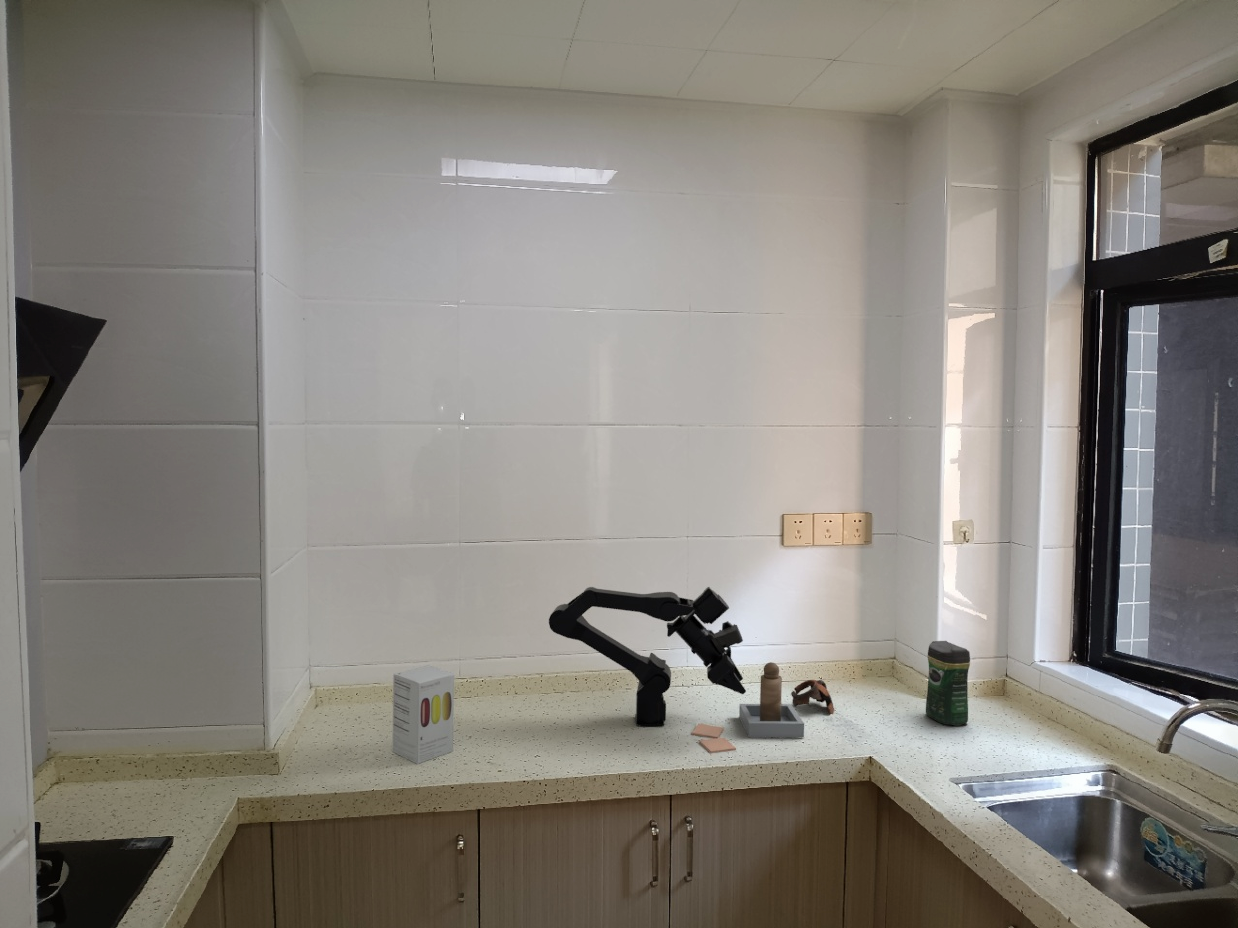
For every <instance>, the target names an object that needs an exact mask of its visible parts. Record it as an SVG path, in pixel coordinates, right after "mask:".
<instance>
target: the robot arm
mask: <svg viewBox="0 0 1238 928" xmlns="http://www.w3.org/2000/svg"><path fill="white" fill-rule="evenodd" d="M592 607H595V608H603V609H609V610H611V609H612V610H619V611H628V612H637V613H641V614H644V615H647V616H649V617H650V618H654V619H656V620H661V621H664V622H667V623H666V628H667V637H668V638H669V637H671V636H673V634H674V633H676V634H677V636H679V637H680V638H681V639H682V640H683V641H684V642H685V643H686V645H687V646H688V647H689V648H690V650H691V653H692V654H693V655H697V657H698V658H699V659H700V660H701V661H702V664H703V666H704V667H705V668H706V675H707V676H706V677H707V679H708V680H709V681H710V683H712V685H713V684H715V685H718V686H721V687H724V688H726V689H729V690H731V691H734V692H735V693H736V692H737V694H741V695H745V693H746V692H747V690H746V688H745V687H744V685H743V684H742V682H741V681H742V680H743V679H744V677H743V675H742V674H741V672H740V671H739V669H738V668H737V666H736V664H735V662H734V661H733V658H732V648H731V646H733V645H738V644H740V643H743V641H744V639H743V637H742V634H741V631H740V630H739V627H738V625H737V624H735V623H734V624H732V623H731V622H729V621H725V622H722V627H721V629H719V630H718V631H717V632H713V630H712V629H707V628H706V627H705V625H706V624H707V625H708V624H710V625H712V624H713V623H715V622H716V621H717V620H718V619H719V618H720V617H721V616H723V614H725V613H726V612H727V611H728V610H729V609H730V606H729V605H728V604H727V602H726V601H725V600H724V598H723V597H722V596H721V595H720V594H717V592H716V591H714V589H712V588H711V587H710V586H707V587H706V588H705V589H704V590H703V592H702V593H700V595H698V597H696V599H691V598H684V597H681V596H680V597H679V595H678V594H676V593H675V592H673V591H658V592H651V593H635V592H628V591H621V590H620V591H619V590H611V589H602V588H596V587H594V586H588V587H587V588H585V590H584V591H583V592H581V593H580V594H579V595H577V596H576V597H574V598H573V599H572V600H570V601H569V602H567V603H563V604H560V605H557V606H556V607H555V608H554V610H553V611H552V613H551V614H550V616H549V618H548V625H549V628H550V630H551V631H552V632H553V633H555V634H556V635H559V636H561V637H564V638H566V639H571V640H576V641H580V642H582V643H583V644H585V645H586V646H588V647H590V648H592V650H595V651H597V652H598V653H599V654H601V655H603V656H605V657H606V658H608V659H609V660H611V661H613V662H614V663H616V664H617V665H619V666H621V667H622V668H624V669H625V670H627V671H628V672H631V673H632V674H633V676H634V677H635V678H636V679H637V680H638V685H637V689H636V693H635V694H636V696H635V697H636V698H635V699H636V700H635V714H634V719H635V725H636V726H637V727H664V726H665V721H666V720H667V719H666V717H667V701H666V699H665V698H664V693H666V692H667V691H668V690H669V689H670V687H671V681H672V671H671V668H670V666H669V665H668V664H667V663H666V661H667V660H666V659H662V658H659V657H658V656H657V655H656V654H655V653H653V652H650V653H649V656H645V655H644V656H643V655H641V654H639V653H638V652H635V651H634V650H632V649H630V648H629V647H627V646H625V645H624V644H622V642H621V643H620V642H619V641H617V640H616V639H614V638H613V637H611V636H610V635H608V634H606V633H604V632H602V630H600V629H598V628H596V627H594V626H593V625H591V624H590V623H589V621H588V620H586V618H585V617H584V616H583V615H584V614H585V613H586V612H587V611H589V610H590V609H591V608H592ZM702 623H703V624H702ZM704 624H705V625H704Z"/></svg>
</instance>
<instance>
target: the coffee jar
mask: <svg viewBox="0 0 1238 928" xmlns="http://www.w3.org/2000/svg"><path fill="white" fill-rule="evenodd" d="M927 663H928V680H927V690H926V691H927V692H926V701H925V714H926V716H928V717H929V718H931V719H932V720H934V721H936V722H938V723H940V724H943V725H951V726H952V725H953V726H962V725H964V724H967V723H968V722H969V702H968V701H969V697H968V695H969V694H968V693H969V692H968V691H969V689H968V685H969V684H968V681H969V680H968V675H969V669H970V666H971V653H970V650H968V649H967V648H966V647H961V646H959V645H956V644H955V643H951V642H948V641H947V640H934V641H931V643H929V645H928V650H927Z"/></svg>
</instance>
